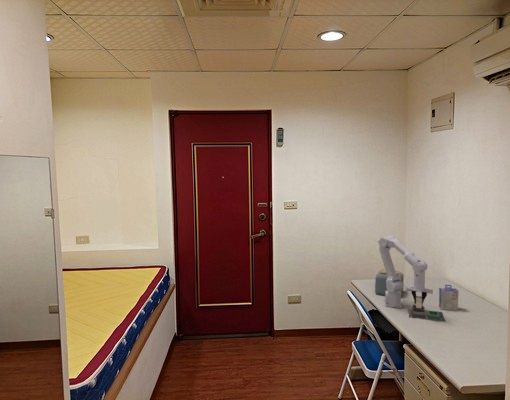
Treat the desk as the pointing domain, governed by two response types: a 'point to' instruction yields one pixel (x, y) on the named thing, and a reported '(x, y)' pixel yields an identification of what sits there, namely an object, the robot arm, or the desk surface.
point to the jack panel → (425, 314)
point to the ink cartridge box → (448, 298)
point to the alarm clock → (384, 282)
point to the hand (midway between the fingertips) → (418, 303)
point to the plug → (418, 302)
